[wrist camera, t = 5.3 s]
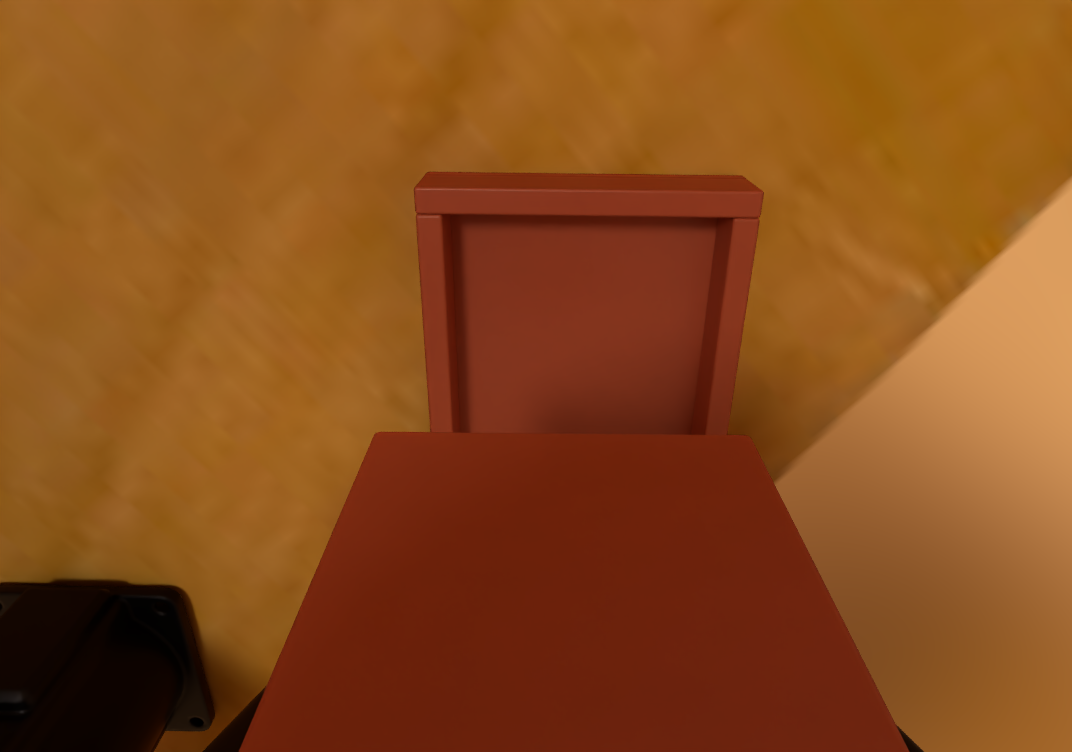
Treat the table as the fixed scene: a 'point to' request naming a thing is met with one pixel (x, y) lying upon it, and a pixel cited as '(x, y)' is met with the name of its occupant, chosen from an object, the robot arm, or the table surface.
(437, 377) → the rust tray
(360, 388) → the table surface
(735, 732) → the rust block
